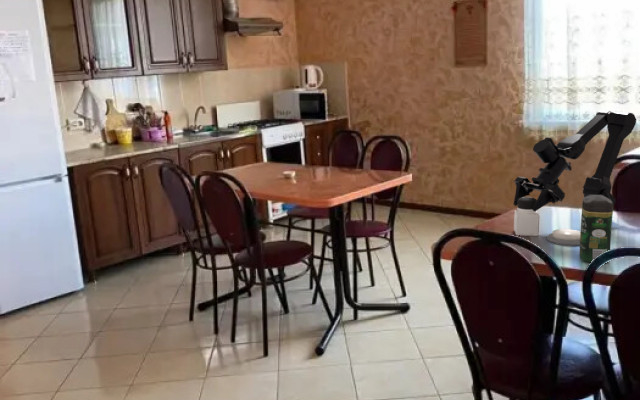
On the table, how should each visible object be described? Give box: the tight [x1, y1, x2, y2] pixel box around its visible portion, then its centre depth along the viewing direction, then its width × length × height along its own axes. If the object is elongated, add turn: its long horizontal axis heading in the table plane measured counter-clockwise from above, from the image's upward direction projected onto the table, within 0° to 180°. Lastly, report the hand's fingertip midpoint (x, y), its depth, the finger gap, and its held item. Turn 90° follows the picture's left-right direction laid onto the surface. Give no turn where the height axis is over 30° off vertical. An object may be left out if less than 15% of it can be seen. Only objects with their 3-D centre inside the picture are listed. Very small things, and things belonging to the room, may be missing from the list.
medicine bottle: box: [513, 196, 540, 237], centre depth 207 cm, size 7×7×12 cm
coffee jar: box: [579, 195, 614, 263], centre depth 177 cm, size 10×8×19 cm
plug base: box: [546, 228, 581, 247], centre depth 198 cm, size 12×12×2 cm
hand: (523, 207), depth 206 cm, fingers open, 9 cm apart
